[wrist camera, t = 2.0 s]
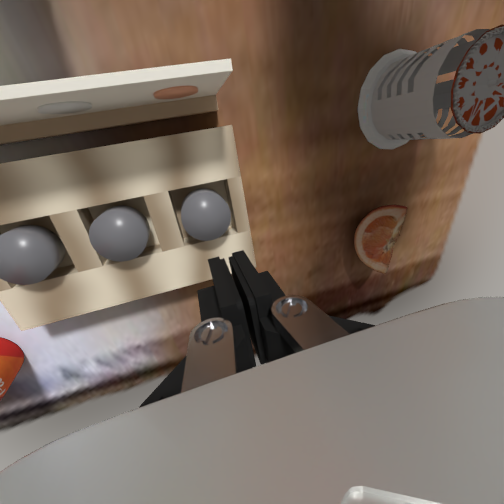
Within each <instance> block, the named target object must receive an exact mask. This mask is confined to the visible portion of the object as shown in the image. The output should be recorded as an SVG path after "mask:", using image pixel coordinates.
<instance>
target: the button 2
mask: <svg viewBox="0 0 504 504" xmlns="http://www.w3.org/2000/svg"><path fill="white" fill-rule="evenodd" d="M181 221H182V224H183V227H184V229H185V230H186V232H187V233H188V234H189V235H190V236H192V237H193V238H195V239H198V240H202V241H210V240H214V239H217V238H219V237H220V236H222V235H223V234H224V233H225V232H226V231H227V229H228V227H229V225H230V222H231V212H230V208H229V206H228V204H227V203H226V202H225V200H224V199H223V198H222V197H221V196H220V195H219V194H218V193H217V192H215V191H213V190H211V189H206V188H201V189H196V190H194V191H192V192H190V193H189V194H188V195H187V196H186V197H185V198H184V200H183V202H182V205H181Z"/></svg>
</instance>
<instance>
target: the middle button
mask: <svg viewBox="0 0 504 504" xmlns="http://www.w3.org/2000/svg"><path fill="white" fill-rule="evenodd" d="M149 235H150V226H149V223H148V220H147V219H146V217H145V216H144V215H143V214H142V213H141V212H140V211H138V210H137V209H135V208H132V207H129V206H123V205H120V206H114V207H111V208H109V209H107V210H106V211H104V212H103V213H102V214H101V215H100V216H98V217H97V218H96V219H95V220H94V221H93V223H92V224H91V226H90V229H89V239H90V243H91V245H92V247H93V248H94V249H95V251H96V252H97V253H99V254H100V255H101V256H103V257H104V258H106V259H109V260H112V261H119V262H122V261H129V260H132V259H134V258H136V257H138V256H139V255H140V254H141V253H142V252H143V251H144V249H145V247H146V244H147V241H148V238H149Z"/></svg>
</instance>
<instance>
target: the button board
mask: <svg viewBox="0 0 504 504" xmlns="http://www.w3.org/2000/svg"><path fill="white" fill-rule="evenodd" d="M201 188H206V189H211V190H213V191H215V192H217V193H218V194H219V195H220V196H221V197H222V198H223V199H224V200H225V202H226V203H227V204H228V206H229V208H230V212H231V222H230V225H229V227H228V229H227V231H226V232H225V233H224V234H223V235H222V236H220V237H219V238H217V239H214V240H210V241H202V240H198V239H195V238H193V237H192V236H190V235H189V234H188V233H187V232H186V230H185V229H184V227H183V224H182V221H181V205H182V202H183V200H184V198H185V197H186V196H187V195H188V194H189V193H190V192H192V191H194V190H196V189H201ZM120 205H123V206H129V207H132V208H135V209H137V210H138V211H140V212H141V213H142V214H143V215H144V216H145V217H146V219H147V220H148V223H149V226H150V235H149V238H148V241H147V244H146V247H145V249H144V251H143V252H142V253H141V254H140V255H139V256H138V257H136V258H134V259H132V260H129V261H122V262H119V261H112V260H109V259H106V258H104V257H103V256H101V255H100V254H99V253H97V252H96V251H95V249H94V248H93V247H92V245H91V243H90V239H89V229H90V226H91V224H92V223H93V221H94V220H95V219H96V218H97V217H98V216H100V215H101V214H102V213H103V212H104V211H106V210H107V209H109V208H111V207H114V206H120ZM21 225H38V226H42V227H44V228H47V229H49V230H51V231H52V232H54V233H55V234H56V235H57V236H58V237H59V238H60V239H61V241H62V242H63V244H64V247H65V257H64V259H63V261H62V263H61V264H60V265H59V266H58V267H57V268H56V269H55V270H54V271H53V272H52V273H51V274H50V275H49V276H47V277H46V278H45V279H44V280H42V281H40V282H38V283H35V284H30V285H18V284H13V283H9V282H7V281H4V280H2V279H0V301H1V303H2V304H3V305H4V307H5V308H6V310H7V311H8V313H9V314H10V315H11V317H12V318H13V320H14V321H15V322H16V324H17V325H18V327H19V328H20V330H21V331H24V330H27V329H31V328H35V327H38V326H42V325H46V324H49V323H53V322H57V321H60V320H64V319H68V318H71V317H75V316H79V315H82V314H86V313H90V312H94V311H97V310H101V309H105V308H108V307H112V306H116V305H119V304H123V303H127V302H130V301H134V300H138V299H141V298H145V297H149V296H152V295H156V294H160V293H163V292H167V291H171V290H174V289H178V288H182V287H185V286H189V285H193V284H196V283H200V282H204V281H207V280H211V279H213V278H212V275H211V271H210V267H209V263H208V259H211V258H215V257H218V256H219V258H220V259H223V258H224V259H225V261H226V264H227V266H228V268H229V271H230V273H231V274H232V272H231V267H230V263H229V257H231V256H232V253H234V252H238V251H242V250H244V252H245V253H246V255H247V256H248V258H249V260H250V261H251V263H252V264H253V266H254V267H256V261H255V256H254V250H253V244H252V238H251V232H250V227H249V221H248V215H247V209H246V203H245V198H244V192H243V186H242V180H241V174H240V169H239V163H238V157H237V151H236V145H235V139H234V134H233V128H232V125H229V126H223V127H217V128H211V129H205V130H199V131H192V132H186V133H180V134H174V135H168V136H162V137H156V138H150V139H144V140H138V141H132V142H126V143H120V144H114V145H108V146H102V147H96V148H90V149H84V150H78V151H72V152H66V153H60V154H54V155H48V156H42V157H36V158H30V159H24V160H18V161H12V162H6V163H0V235H1V234H3V233H5V232H7V231H9V230H11V229H13V228H16V227H18V226H21Z"/></svg>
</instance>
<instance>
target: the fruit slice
mask: <svg viewBox="0 0 504 504" xmlns="http://www.w3.org/2000/svg"><path fill="white" fill-rule="evenodd" d="M406 212H407V207H405V206H400V205H387V206H381V207H379V208H376V209H374V210H372V211H371V212H370V213H369V214H367V215H366V216H365V217H364V218H363V220H362V221H361V222H360V224H359V225H358V227H357V229H356V232H355V236H354V244H355V250H356V253H357V255H358V257H359V259H360V260H361V261H362V262H363V263H364V264H365V265H367V266H368V267H370V268H371V269H373V270H376V271H377V272H380V273H384V274H386V272H387V270H388V267H389V263H390V260H391V257H392V253H393V249H394V246H395V243H396V240H397V237H398V236H400V234H399V231H400V230H401V228H402V225H403V222H404V219H405V216H406Z"/></svg>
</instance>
